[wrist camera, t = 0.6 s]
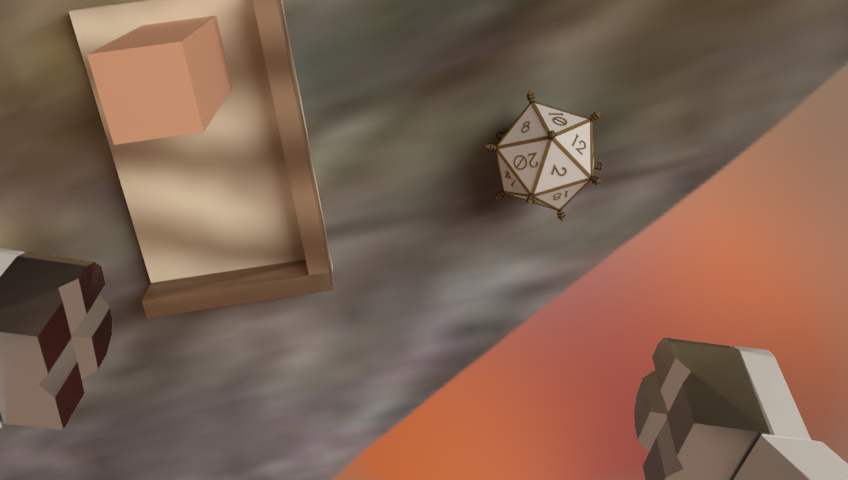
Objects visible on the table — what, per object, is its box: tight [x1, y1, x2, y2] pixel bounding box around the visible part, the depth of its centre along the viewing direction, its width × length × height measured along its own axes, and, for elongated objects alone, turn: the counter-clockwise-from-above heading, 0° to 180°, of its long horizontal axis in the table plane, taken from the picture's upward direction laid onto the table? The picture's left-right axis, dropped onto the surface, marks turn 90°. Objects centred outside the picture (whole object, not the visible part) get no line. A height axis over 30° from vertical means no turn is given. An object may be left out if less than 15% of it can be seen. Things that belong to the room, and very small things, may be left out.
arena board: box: [69, 0, 333, 318], centre depth 53 cm, size 22×14×4 cm, turn 7°
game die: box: [485, 90, 603, 222], centre depth 54 cm, size 9×8×10 cm
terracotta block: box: [87, 15, 233, 145], centre depth 46 cm, size 5×5×12 cm
